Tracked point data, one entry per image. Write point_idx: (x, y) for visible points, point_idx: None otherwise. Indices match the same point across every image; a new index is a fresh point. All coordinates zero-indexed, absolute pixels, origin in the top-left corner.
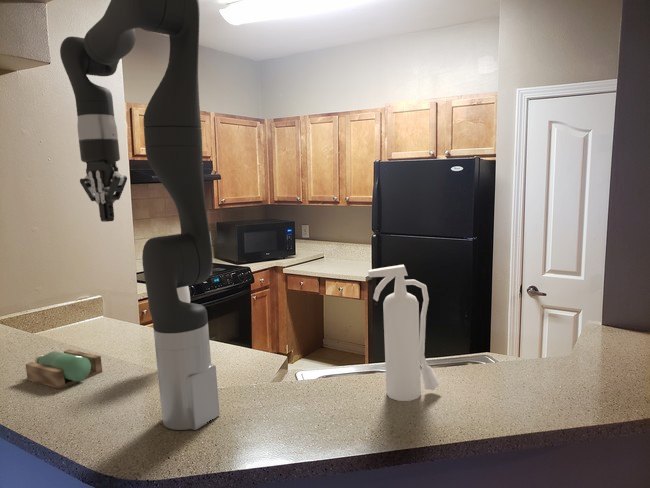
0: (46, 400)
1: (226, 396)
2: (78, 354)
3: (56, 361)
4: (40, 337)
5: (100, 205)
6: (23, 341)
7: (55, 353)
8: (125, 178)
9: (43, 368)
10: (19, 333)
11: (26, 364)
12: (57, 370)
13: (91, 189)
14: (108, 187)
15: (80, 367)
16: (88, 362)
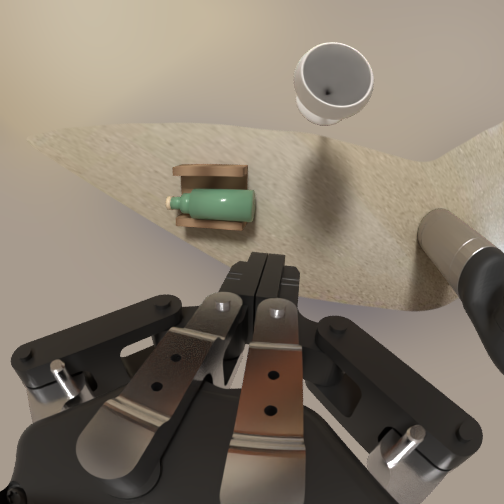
0: (261, 247)
1: (447, 180)
2: (205, 175)
3: (219, 218)
4: (65, 129)
5: (248, 340)
6: (63, 147)
7: (200, 209)
8: (472, 438)
9: (212, 227)
10: (40, 137)
11: (178, 225)
12: (236, 226)
13: (128, 379)
14: (205, 362)
15: (252, 205)
16: (251, 194)
